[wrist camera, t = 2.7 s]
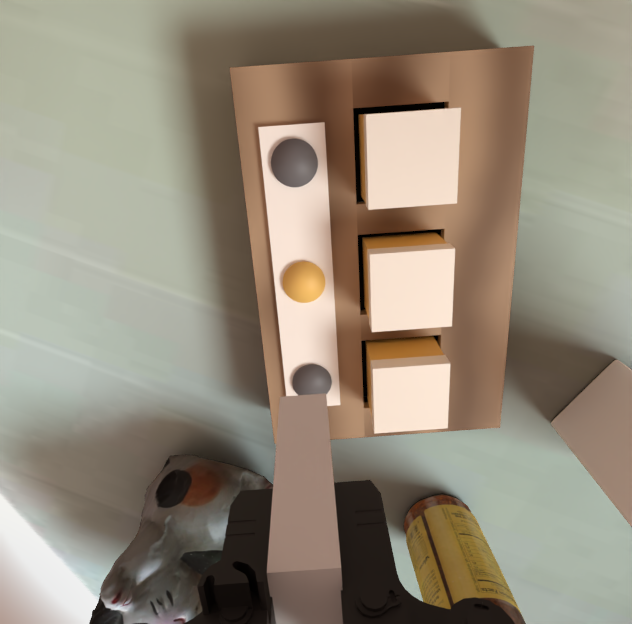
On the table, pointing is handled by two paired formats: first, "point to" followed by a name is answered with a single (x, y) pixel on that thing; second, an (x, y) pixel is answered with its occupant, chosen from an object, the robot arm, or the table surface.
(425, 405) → the far button
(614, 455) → the milk carton
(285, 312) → the push button panel
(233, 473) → the lucky cat figurine
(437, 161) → the yellow white square block
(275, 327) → the button board
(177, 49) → the table surface
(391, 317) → the middle button
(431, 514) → the sauce bottle
